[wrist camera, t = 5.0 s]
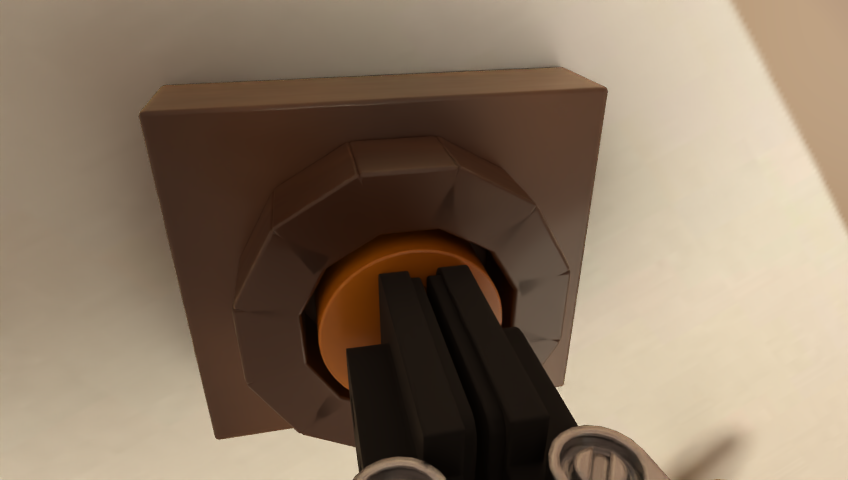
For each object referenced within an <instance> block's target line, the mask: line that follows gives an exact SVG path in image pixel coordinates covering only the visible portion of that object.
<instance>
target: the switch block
mask: <svg viewBox="0 0 848 480" xmlns="http://www.w3.org/2000/svg"><path fill="white" fill-rule="evenodd" d="M607 93H608V90H607V88H606V87H604V86H602V85H600V84H598V83H596V82H593V81H591V80H589V79H587V78H585V77H583V76H581V75H579V74H576V73H574V72H572V71H570V70H568V69H566V68H563V67H554V68H532V69H509V70H487V71H465V72H443V73H421V74H399V75H377V76H355V77H333V78H310V79H288V80H266V81H244V82H222V83H200V84H178V85H163V86H161V87H160V88H159V90H158V91H157V92H156V93H155V94H154V96H153V97H152V98H151V99H150V100H149V102H148V103H147V104H146V105H145V106H144V108H143V109H142V110H141V111H140V112H139V120H140V124H141V128H142V133H143V137H144V141H145V145H146V149H147V154H148V158H149V162H150V166H151V170H152V175H153V179H154V183H155V187H156V191H157V196H158V200H159V204H160V208H161V212H162V217H163V221H164V225H165V229H166V233H167V238H168V242H169V246H170V250H171V254H172V258H173V263H174V267H175V271H176V275H177V279H178V284H179V288H180V292H181V296H182V300H183V305H184V309H185V313H186V317H187V321H188V326H189V330H190V334H191V338H192V342H193V347H194V351H195V355H196V359H197V363H198V368H199V372H200V376H201V380H202V384H203V389H204V393H205V397H206V401H207V405H208V410H209V414H210V418H211V422H212V426H213V430H214V435H215V438H216V439H219V440H220V439H226V438H233V437H239V436H245V435H252V434H258V433H265V432H271V431H277V430H284V429H290V428H294V429H295V430H296V431H297V432H298V433H302V434H303V435H307V436H311V437H315V438H319V439H323V440H328V441H332V442H336V443H340V444H344V445H349V446H353V447H356V445H355V437H354V430H353V422H352V413H351V404H350V394H349V390H348V389H347V388H345V387H344V386H343V385H342V384H340V383H339V382H338V381H337V380H336V379H335V378H334V377H333V375H332V374H331V373H330V372H329V370H328V369H327V367H326V365H325V363H324V361H323V359H322V356H321V353H320V348H319V343H318V331H317V319H316V306H315V289H316V287H317V285H318V283H319V282H320V280H321V278H322V276H323V274H324V272H325V271H326V269H327V268H328V267H330V266H331V265H333V264H334V263H336V262H338V261H339V260H341V259H342V258H344V257H346V256H347V255H349V254H350V253H352V252H353V251H355V250H357V249H358V248H360V247H361V246H363V245H365V244H366V243H368V242H369V241H371V240H373V239H374V238H376V237H377V236H379V235H381V234H391V233H402V232H412V231H422V230H433V229H441V230H443V231H445V232H448V233H450V234H452V235H455V236H457V237H459V238H461V239H464V240H466V241H468V242H469V243H470V245H471V246H472V248H473V250H474V251H475V253H476V255H477V256H478V258H479V260H480V261H481V263H482V265H483V266H484V268H485V270H486V271H487V273H488V275H489V276H490V278H491V280H492V281H493V283H494V285H495V287H496V289H497V291H498V294H499V297H500V300H501V306H502V324H501V327H502V328H508V327H518V328H519V329H520V330H521V331H522V332H523V334H524V336H525V337H526V339H527V341H528V342H529V344H530V346H531V347H532V349H533V351H534V352H535V354H536V356H537V358H538V359H539V361H540V363H541V364H542V366H543V368H544V369H545V371H546V373H547V374H548V376H549V378H550V379H551V381H552V383H553V384H554V386H555V387H559V386H563V384H564V379H565V373H566V366H567V359H568V353H569V346H570V339H571V333H572V326H573V319H574V313H575V306H576V299H577V293H578V286H579V279H580V273H581V266H582V259H583V253H584V246H585V240H586V233H587V226H588V220H589V213H590V206H591V200H592V193H593V186H594V180H595V173H596V166H597V160H598V153H599V146H600V140H601V133H602V126H603V120H604V113H605V106H606V100H607Z"/></svg>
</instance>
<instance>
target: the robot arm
mask: <svg viewBox="0 0 848 480" xmlns="http://www.w3.org/2000/svg"><path fill="white" fill-rule="evenodd" d="M378 287H379V309H380V332H381V344H378V345H370V346H362V347H355V348H347V349H346V358H347V371H348V383H349V394H350V404H351V413H352V422H353V430H354V437H355V445H356V452H357V460H358V468H359V473H358V474H357V475H356V476H355V477H354V479H353V480H670V479H669V478H668V477H667V475H666V474H665V473H664V472H663V471H662V470H661V469H660V468H659V467H658V465H657V464H656V463H655V462H654V461H653V460H652V459H651V458H650V457H649V455H648V454H647V453H646V452H645V451H644V450H643V449H642V448H641V447H640V446H639V445H637V444H636V443H635V442H634V441H633V440H632V439H630V438H628V437H626V436H625V435H623V434H621V433H619V432H617V431H615V430H611V429H608V428H605V427H602V426H590V425H583V426H578V425H577V423H576V422H575V420H574V418H573V417H572V415H571V413H570V411H569V410H568V408H567V406H566V405H565V403H564V401H563V400H562V398H561V396H560V395H559V393H558V391H557V390H556V388H555V386H554V384H553V383H552V381H551V379H550V378H549V376H548V374H547V373H546V371H545V369H544V368H543V366H542V364H541V363H540V361H539V359H538V358H537V356H536V354H535V352H534V351H533V349H532V347H531V346H530V344H529V342H528V341H527V339H526V337H525V336H524V334H523V332H522V331H521V330H520V329H519V328H518V327H508V328H502V327H501V325H500V323H499V322H498V320H497V318H496V316H495V314H494V312H493V311H492V309H491V307H490V305H489V303H488V302H487V300H486V298H485V296H484V294H483V292H482V291H481V289H480V287H479V285H478V283H477V281H476V280H475V278H474V276H473V274H472V272H471V270H470V269H469V267H468V266H467V265H457V266H448V267H439V268H438V269H437V272H436V275H435V276H428V277H427V294H426V291H425V289H424V286H423V283H422V281H421V279H420V277H417V278H411V277H410V274H409V272H408V271H401V272H392V273H383V274H379V275H378Z"/></svg>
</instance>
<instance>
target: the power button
mask: <svg viewBox="0 0 848 480" xmlns="http://www.w3.org/2000/svg"><path fill="white" fill-rule="evenodd" d="M457 265H467V266H468V267H469V269H470V270H471V272H472V274H473V276H474V278H475V280H476V281H477V283H478V285H479V287H480V289H481V291H482V292H483V294H484V296H485V298H486V300H487V302H488V303H489V305H490V307H491V309H492V311H493V312H494V314H495V316H496V318H497V320H498V322H499V323H500V325H501V324H502V306H501V300H500V297H499V294H498V291H497V289H496V287H495V285H494V283H493V281H492V280H491V278H490V276H489V275H488V273H487V271H486V270H485V268H484V266H483V265H482V263H481V261H480V260H479V258H478V256H477V255H476V253H475V251H474V250H473V248H472V246H471V245H470V243H469V242H468V241H466V240H464V239H461V238H459V237H457V236H455V235H452V234H450V233H448V232H445V231H443V230H441V229H433V230H422V231H412V232H402V233H391V234H381V235H379V236H377V237H376V238H374V239H373V240H371V241H369V242H368V243H366V244H365V245H363V246H361V247H360V248H358V249H357V250H355V251H353V252H352V253H350V254H349V255H347V256H346V257H344V258H342V259H341V260H339V261H338V262H336V263H334V264H333V265H331V266H330V267H328V268H327V269H326V271H325V272H324V274H323V276H322V278H321V280H320V282H319V283H318V285H317V287H316V289H315V306H316V319H317V331H318V343H319V348H320V353H321V356H322V359H323V361H324V363H325V365H326V367H327V369H328V370H329V372H330V373H331V374H332V375H333V377H334V378H335V379H336V380H337V381H338V382H339V383H340V384H342V385H343V386H344V387H345V388H347V389H348V390H349V383H348V371H347V358H346V349H347V348H355V347H362V346H370V345H378V344H381V332H380V309H379V287H378V275H379V274H383V273H392V272H401V271H408V272H409V274H410V277H411V278H417V277H420V279H421V281H422V283H423V286H424V289H425V291H426V294H427V277H428V276H435V275H436V272H437V269H438V268H439V267H448V266H457Z"/></svg>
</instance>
